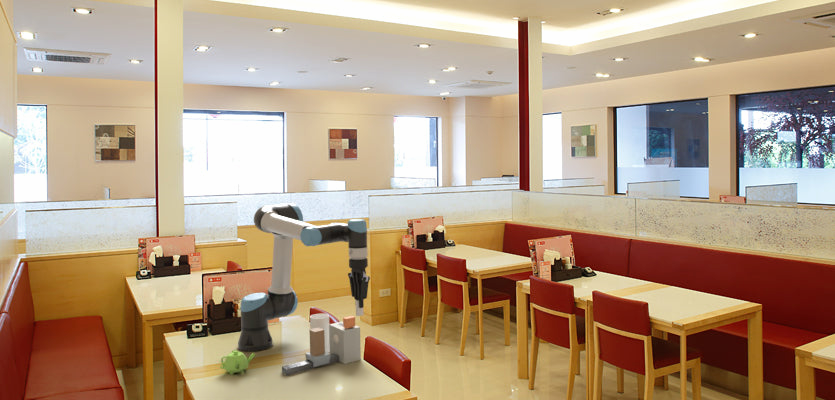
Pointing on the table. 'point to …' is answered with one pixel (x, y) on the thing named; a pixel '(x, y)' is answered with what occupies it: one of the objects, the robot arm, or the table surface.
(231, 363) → the teapot
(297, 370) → the rail
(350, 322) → the block
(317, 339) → the carriage
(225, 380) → the table surface
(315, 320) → the cup
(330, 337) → the cabinet
